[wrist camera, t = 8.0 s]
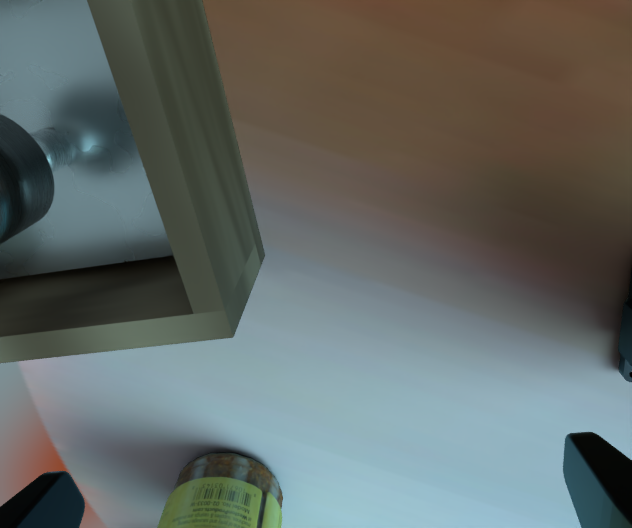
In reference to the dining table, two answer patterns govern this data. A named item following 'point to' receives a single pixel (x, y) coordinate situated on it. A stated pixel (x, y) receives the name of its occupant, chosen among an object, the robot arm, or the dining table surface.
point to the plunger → (66, 149)
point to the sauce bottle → (224, 495)
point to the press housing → (171, 199)
